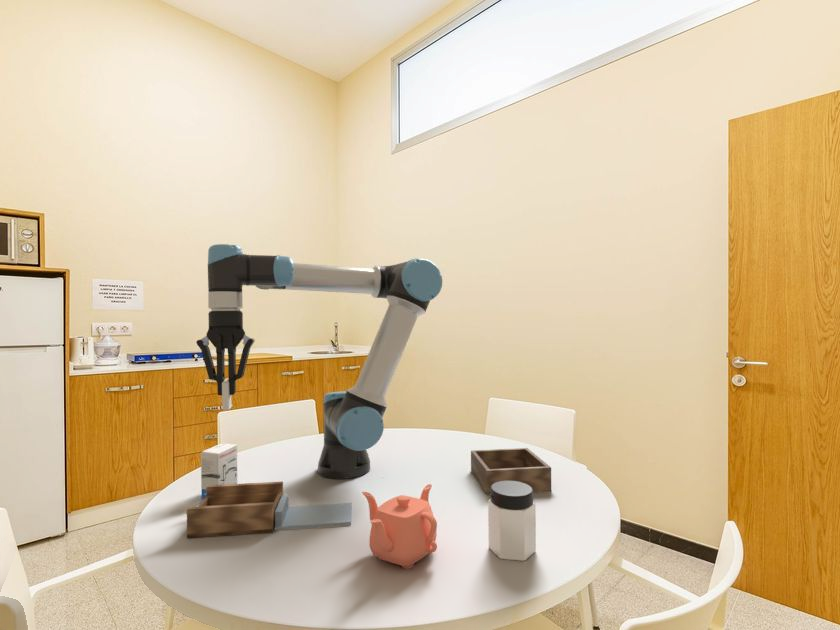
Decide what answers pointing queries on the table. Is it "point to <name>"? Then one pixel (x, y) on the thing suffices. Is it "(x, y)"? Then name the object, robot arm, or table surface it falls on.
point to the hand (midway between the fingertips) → (226, 408)
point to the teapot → (402, 528)
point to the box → (235, 510)
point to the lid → (311, 515)
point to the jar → (512, 520)
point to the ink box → (218, 466)
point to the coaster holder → (510, 468)
